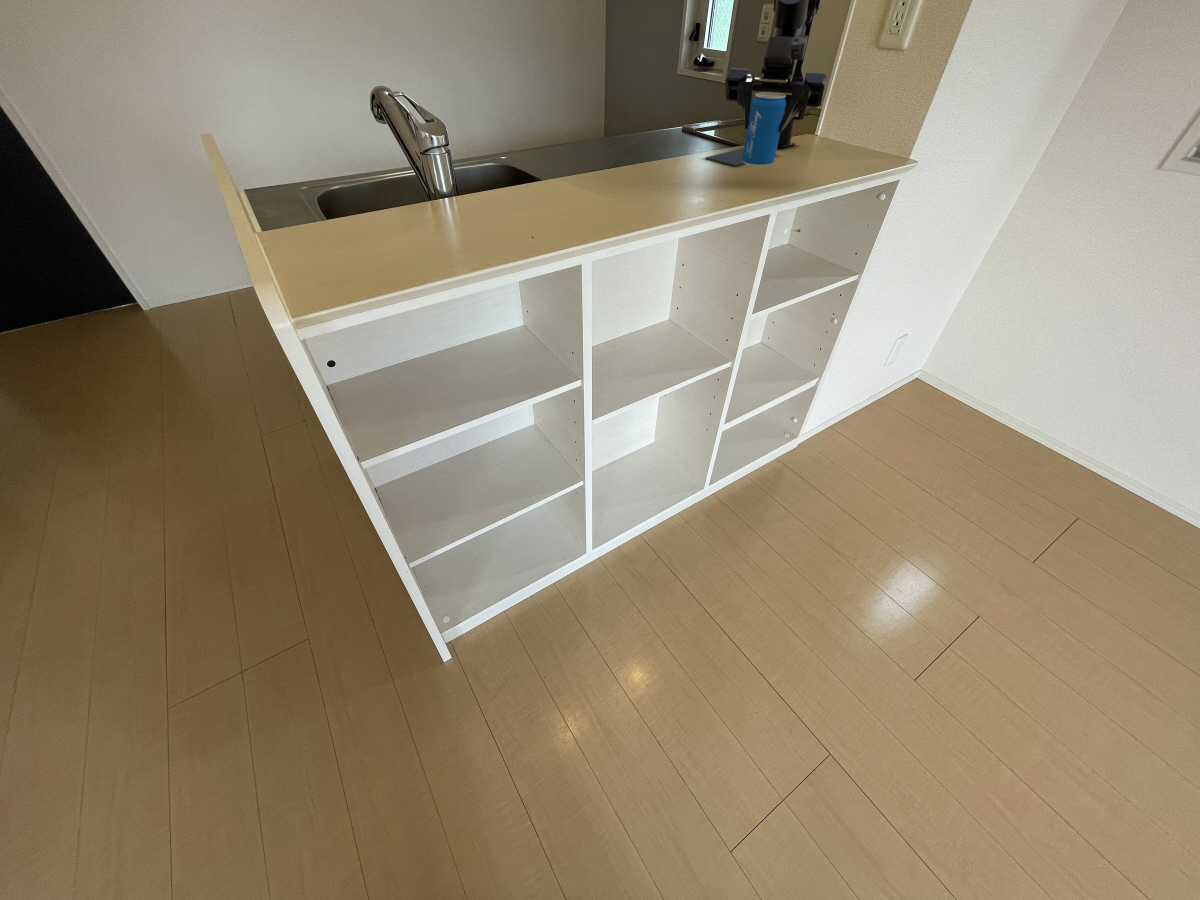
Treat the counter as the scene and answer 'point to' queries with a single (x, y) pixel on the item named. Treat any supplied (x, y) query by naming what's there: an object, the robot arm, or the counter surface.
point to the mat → (729, 158)
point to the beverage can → (763, 129)
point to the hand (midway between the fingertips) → (762, 129)
